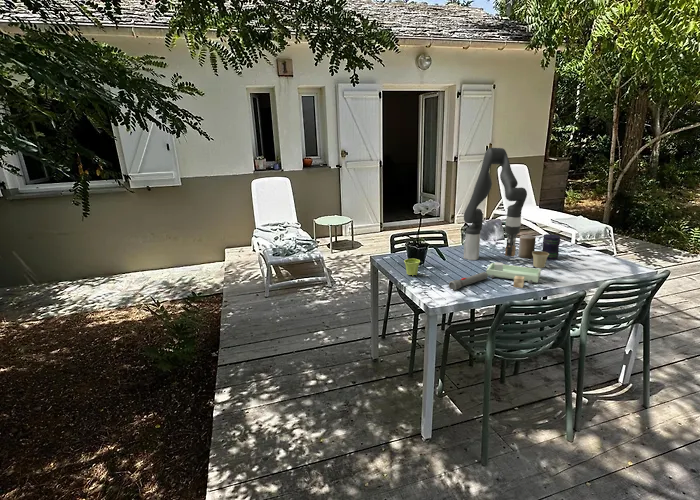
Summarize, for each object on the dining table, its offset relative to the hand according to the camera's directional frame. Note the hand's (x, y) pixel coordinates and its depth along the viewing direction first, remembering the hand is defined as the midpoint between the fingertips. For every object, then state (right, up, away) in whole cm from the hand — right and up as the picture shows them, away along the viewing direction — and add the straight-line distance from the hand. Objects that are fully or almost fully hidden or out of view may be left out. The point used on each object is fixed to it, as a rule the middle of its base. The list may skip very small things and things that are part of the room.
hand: (510, 254), depth 214 cm
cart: (+5, -13, +7) cm, 15 cm away
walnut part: (0, 0, 0) cm, 0 cm away
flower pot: (+27, -8, +23) cm, 36 cm away
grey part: (-2, -10, +10) cm, 15 cm away
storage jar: (+42, -3, +39) cm, 57 cm away
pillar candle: (+29, -2, +43) cm, 52 cm away
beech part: (+2, -17, -7) cm, 19 cm away
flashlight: (-23, -17, -2) cm, 29 cm away
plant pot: (-52, -13, +16) cm, 56 cm away
